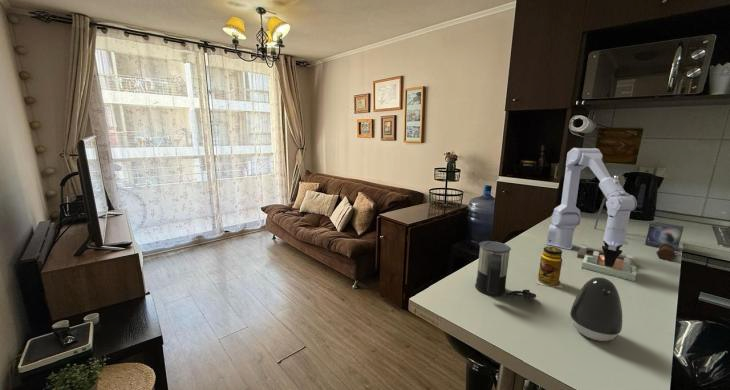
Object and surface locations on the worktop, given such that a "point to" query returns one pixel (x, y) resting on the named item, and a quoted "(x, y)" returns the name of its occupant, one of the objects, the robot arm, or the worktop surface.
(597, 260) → the fuse
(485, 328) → the worktop surface
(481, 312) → the worktop surface
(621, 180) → the juicer
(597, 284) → the dark grey egg dome
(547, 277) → the condiment
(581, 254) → the frame
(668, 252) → the brown elongated lump
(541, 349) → the worktop surface
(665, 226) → the picture frame
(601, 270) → the parts tray
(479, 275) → the milk frother
